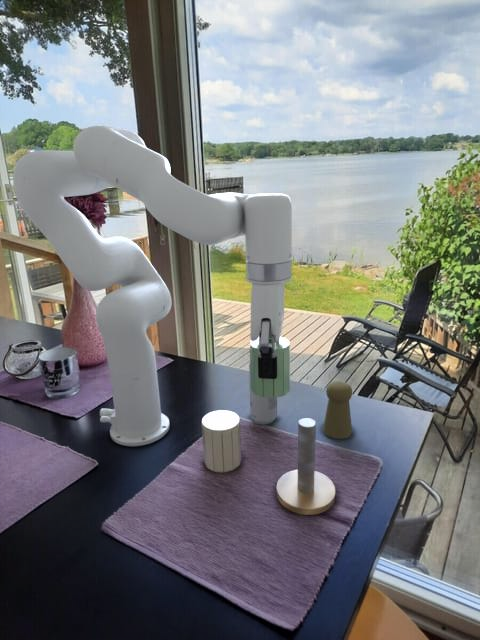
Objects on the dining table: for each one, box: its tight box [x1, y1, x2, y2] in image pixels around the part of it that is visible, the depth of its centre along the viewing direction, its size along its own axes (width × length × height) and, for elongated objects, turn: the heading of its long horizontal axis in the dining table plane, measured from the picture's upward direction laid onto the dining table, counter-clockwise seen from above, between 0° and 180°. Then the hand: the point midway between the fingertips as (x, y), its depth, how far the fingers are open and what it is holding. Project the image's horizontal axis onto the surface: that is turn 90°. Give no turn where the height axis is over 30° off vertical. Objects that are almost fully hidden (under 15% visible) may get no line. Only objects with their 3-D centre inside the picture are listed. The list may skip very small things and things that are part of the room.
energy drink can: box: [248, 362, 278, 425], centre depth 96 cm, size 6×6×15 cm
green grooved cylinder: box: [249, 336, 291, 398], centre depth 79 cm, size 7×7×9 cm
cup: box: [201, 409, 242, 473], centre depth 83 cm, size 7×7×9 cm
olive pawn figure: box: [322, 380, 353, 440], centre depth 91 cm, size 6×6×11 cm
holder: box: [275, 417, 337, 516], centre depth 73 cm, size 10×10×14 cm
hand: (270, 367), depth 79 cm, fingers closed on green grooved cylinder, 7 cm apart
